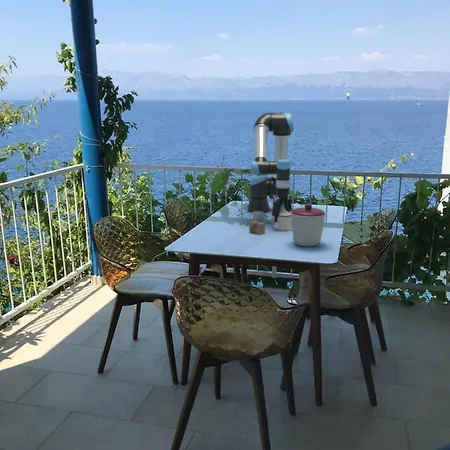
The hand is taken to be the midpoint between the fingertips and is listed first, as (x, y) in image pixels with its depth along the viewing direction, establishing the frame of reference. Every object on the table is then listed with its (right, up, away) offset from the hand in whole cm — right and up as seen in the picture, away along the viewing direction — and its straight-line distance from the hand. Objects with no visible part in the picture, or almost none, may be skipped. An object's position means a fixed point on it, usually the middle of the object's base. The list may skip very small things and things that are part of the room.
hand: (281, 226), depth 270 cm
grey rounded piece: (-13, 0, +8) cm, 16 cm away
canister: (+9, -9, -30) cm, 32 cm away
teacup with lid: (-1, -2, 0) cm, 2 cm away
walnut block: (-15, -4, -9) cm, 18 cm away
